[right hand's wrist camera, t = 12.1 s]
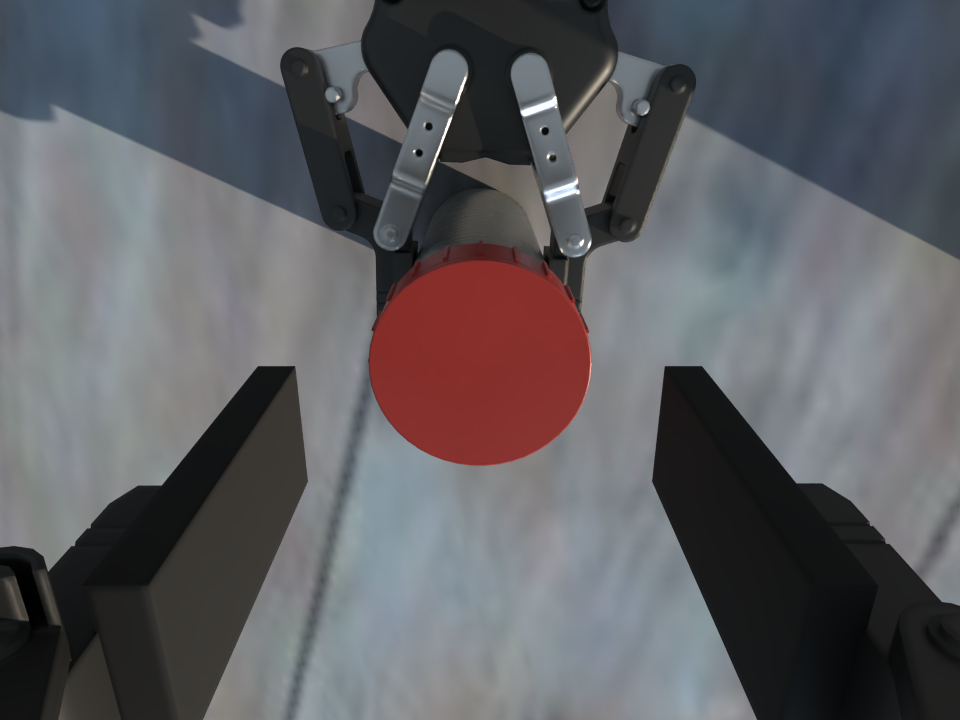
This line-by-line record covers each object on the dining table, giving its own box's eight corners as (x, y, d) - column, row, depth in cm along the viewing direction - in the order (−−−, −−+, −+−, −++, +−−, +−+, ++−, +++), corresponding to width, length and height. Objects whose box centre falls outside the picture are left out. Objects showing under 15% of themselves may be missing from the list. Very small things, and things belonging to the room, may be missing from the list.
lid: (621, 300, 18) (637, 323, 17) (520, 463, 20) (524, 500, 18) (433, 202, 17) (427, 215, 16) (344, 382, 19) (330, 412, 17)
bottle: (552, 219, 31) (612, 324, 17) (501, 310, 33) (517, 474, 19) (456, 167, 30) (436, 234, 16) (409, 264, 32) (354, 399, 18)
